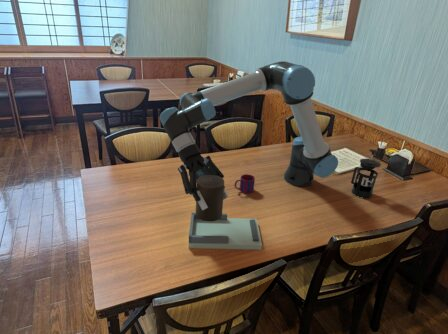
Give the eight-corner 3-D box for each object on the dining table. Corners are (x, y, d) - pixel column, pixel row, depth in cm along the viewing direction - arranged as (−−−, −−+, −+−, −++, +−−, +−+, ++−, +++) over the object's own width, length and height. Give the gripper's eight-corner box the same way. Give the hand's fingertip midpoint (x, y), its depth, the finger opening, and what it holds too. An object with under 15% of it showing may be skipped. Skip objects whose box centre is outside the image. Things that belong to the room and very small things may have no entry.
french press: (377, 196, 149) (390, 152, 139) (365, 201, 144) (378, 156, 134) (356, 185, 158) (367, 144, 148) (344, 189, 153) (355, 147, 143)
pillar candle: (212, 225, 106) (215, 187, 99) (190, 215, 110) (191, 178, 104) (227, 212, 113) (230, 176, 107) (205, 203, 118) (207, 168, 111)
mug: (255, 192, 146) (257, 179, 143) (236, 195, 143) (237, 182, 140) (250, 185, 152) (251, 173, 149) (231, 188, 149) (232, 175, 146)
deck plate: (256, 222, 124) (257, 213, 122) (261, 249, 110) (262, 239, 108) (191, 221, 123) (191, 211, 121) (188, 248, 108) (188, 237, 107)
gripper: (204, 145, 120) (231, 196, 118) (156, 160, 105) (186, 219, 103) (214, 136, 115) (242, 189, 112) (165, 151, 100) (197, 212, 97)
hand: (215, 203), depth 107 cm, fingers closed on pillar candle, 10 cm apart
